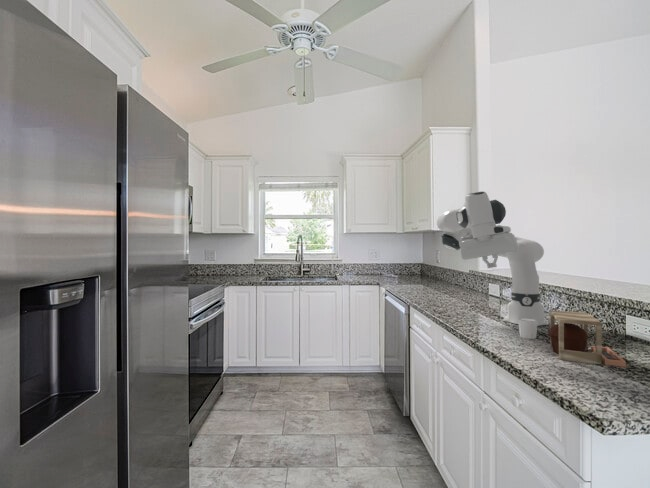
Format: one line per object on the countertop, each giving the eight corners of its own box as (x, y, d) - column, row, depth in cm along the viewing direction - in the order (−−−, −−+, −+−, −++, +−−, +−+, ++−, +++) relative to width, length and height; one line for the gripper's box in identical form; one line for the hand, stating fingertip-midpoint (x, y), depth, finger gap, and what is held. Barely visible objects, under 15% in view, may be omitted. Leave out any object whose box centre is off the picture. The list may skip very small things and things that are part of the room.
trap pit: (590, 350, 122) (590, 345, 122) (608, 351, 120) (608, 347, 120) (605, 364, 107) (605, 359, 107) (625, 366, 105) (625, 361, 105)
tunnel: (550, 345, 127) (550, 310, 127) (586, 349, 123) (586, 312, 123) (559, 359, 112) (559, 319, 112) (601, 364, 108) (601, 322, 108)
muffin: (571, 348, 124) (571, 320, 124) (597, 358, 113) (597, 327, 113) (540, 348, 124) (540, 320, 124) (563, 359, 113) (563, 328, 113)
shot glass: (540, 339, 135) (540, 321, 135) (521, 338, 137) (521, 321, 137) (533, 335, 142) (533, 318, 142) (515, 334, 144) (515, 317, 144)
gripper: (454, 238, 138) (462, 272, 136) (510, 226, 125) (519, 263, 123) (460, 237, 143) (467, 271, 141) (514, 226, 130) (523, 262, 128)
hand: (492, 267), depth 132 cm, fingers closed
